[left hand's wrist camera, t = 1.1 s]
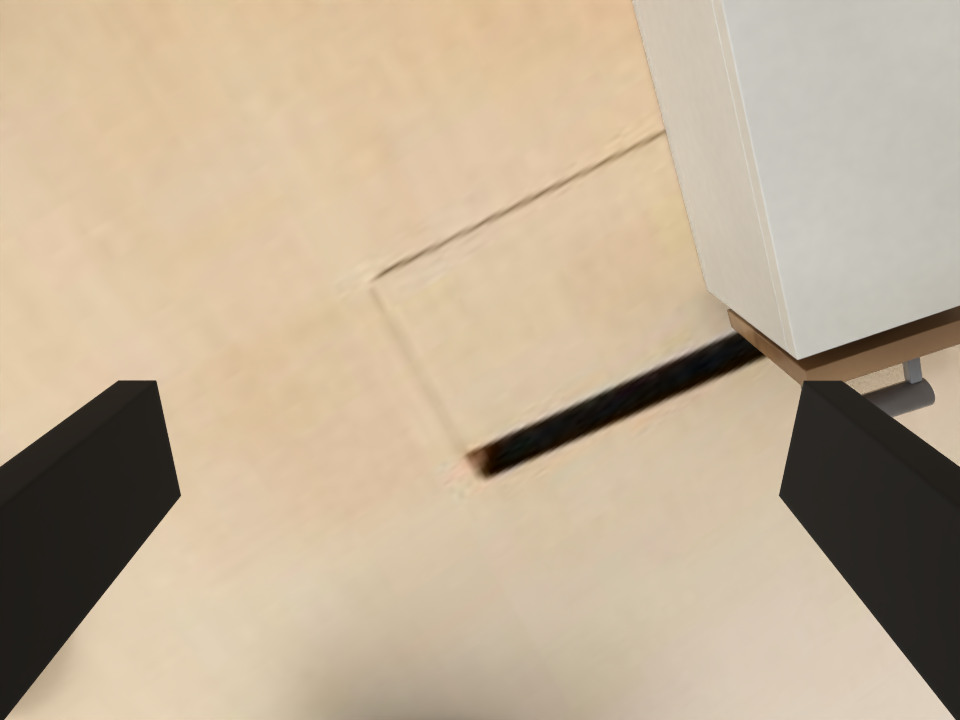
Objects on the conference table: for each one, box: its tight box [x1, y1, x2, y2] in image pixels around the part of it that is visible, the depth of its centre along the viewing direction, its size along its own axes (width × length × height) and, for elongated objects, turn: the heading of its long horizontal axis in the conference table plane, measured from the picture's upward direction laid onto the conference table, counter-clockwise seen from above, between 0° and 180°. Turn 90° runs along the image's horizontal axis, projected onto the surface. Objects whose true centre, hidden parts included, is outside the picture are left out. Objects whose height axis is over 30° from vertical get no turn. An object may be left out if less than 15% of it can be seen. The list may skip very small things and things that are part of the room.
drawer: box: [727, 306, 960, 417], centre depth 30 cm, size 26×9×10 cm, turn 21°
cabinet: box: [632, 0, 960, 360], centre depth 28 cm, size 21×10×12 cm, turn 21°
